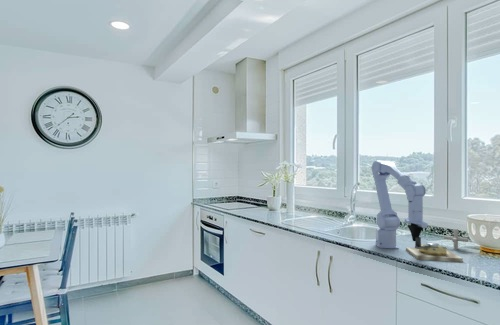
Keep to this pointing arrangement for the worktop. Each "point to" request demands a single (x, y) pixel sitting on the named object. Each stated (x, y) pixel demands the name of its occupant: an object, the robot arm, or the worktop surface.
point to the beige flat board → (434, 256)
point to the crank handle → (430, 248)
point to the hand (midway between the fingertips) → (415, 241)
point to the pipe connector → (456, 239)
